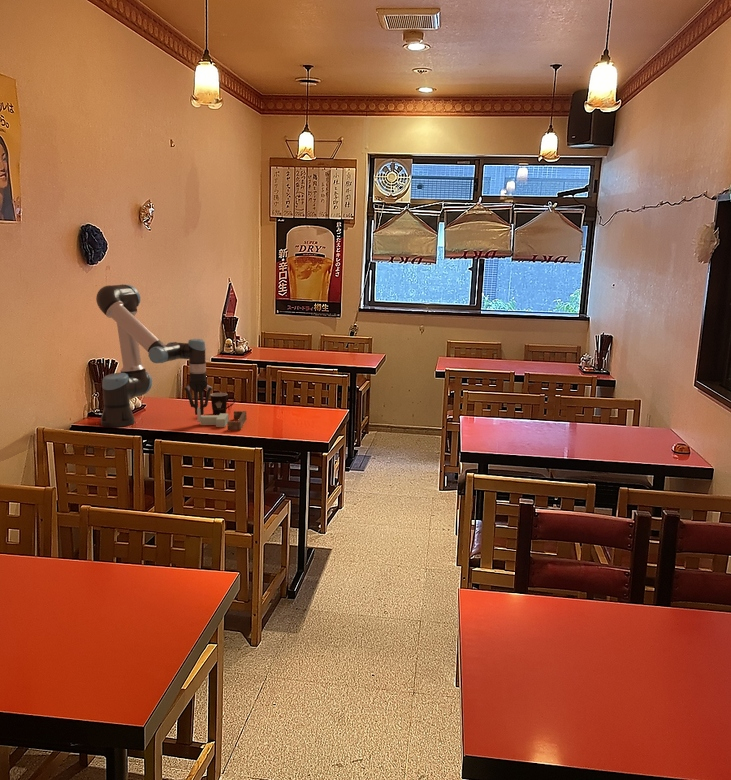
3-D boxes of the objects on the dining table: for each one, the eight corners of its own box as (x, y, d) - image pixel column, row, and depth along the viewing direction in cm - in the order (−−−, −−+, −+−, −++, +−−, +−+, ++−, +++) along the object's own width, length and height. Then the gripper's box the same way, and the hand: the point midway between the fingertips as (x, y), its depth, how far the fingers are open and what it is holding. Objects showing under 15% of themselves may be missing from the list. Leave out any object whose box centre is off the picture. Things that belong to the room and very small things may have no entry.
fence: (227, 430, 320) (227, 422, 320) (234, 419, 342) (234, 411, 342) (240, 430, 321) (240, 422, 320) (246, 419, 343) (246, 411, 342)
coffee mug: (207, 414, 350) (207, 395, 348) (216, 411, 358) (215, 392, 356) (228, 416, 347) (227, 397, 345) (236, 413, 355) (236, 393, 353)
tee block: (199, 427, 325) (198, 419, 324) (203, 421, 337) (203, 413, 336) (224, 427, 325) (224, 419, 325) (228, 421, 337) (228, 413, 336)
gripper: (182, 373, 322) (184, 423, 326) (210, 373, 322) (212, 423, 327) (185, 371, 329) (187, 419, 334) (213, 371, 330) (214, 419, 334)
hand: (199, 421), depth 330 cm, fingers closed
